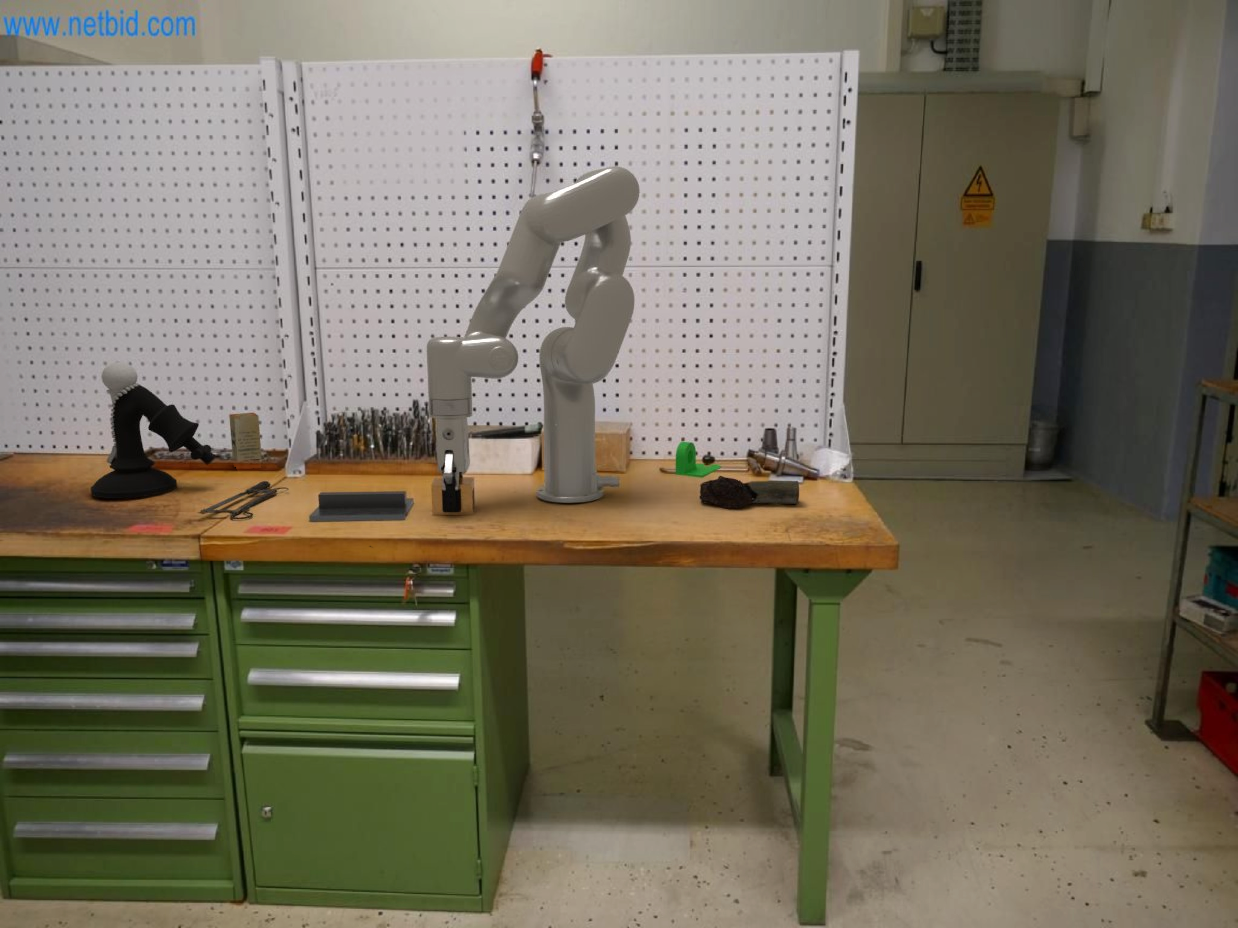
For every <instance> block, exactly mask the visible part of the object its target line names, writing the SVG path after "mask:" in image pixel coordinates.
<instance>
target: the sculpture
mask: <svg viewBox="0 0 1238 928" xmlns="http://www.w3.org/2000/svg"><path fill="white" fill-rule="evenodd" d="M101 382H102V384H103V385H104V386H105V387H106V388H107V390H106V392H107V393H108V394H109V396H110V399H111V405H110V406H111V410H110V412H111V413H110V416H111V417H109V418H110V425H111V426H110V430H111V432H110V433H111V438H112V439H113V440H112V442H113V446H112V448H111V452H110V453H109V455H108V457H107V458H106V463H107V464H110V465H109V468H110V469H111V470H112V471H109V472H108V473H106V474H104V475H103V476H101V477H100V478H98V479H97V480H96V481H95V482H94V484H93V485H91V487H90V494H91V495H92V496H94V497H96V498H101V499H133V498H141V497H150V496H156V495H158V494H159V495H160V494H164V493H167V492H170V491H173V490H175V489H176V488H177V487H178V482H177V481H178V480H177V479H176V478H175V477H174V476H172V475H171V474H169V473H168V472H166V471H164V470H161V469H160V468H159V469H158V468H156V467H153V466H154V465H155V464H156V463H155V461H153V460H152V459H150V458H149V457H148V456H147V455H146V452H145V449H144V446H143V440H142V434H141V420H142V418H143V416H144V417H145V418H146V420H147V421H148V422H149V424H148V430H149V431H150V432H152V433H154V434H156V435H158V436H160V437H161V438H162V439H163V440H164V441H165V443H166V445H167V448H168V451H169V453H174V452H177V450H179V449H181V448H183V447H184V448H185V449H187V450H188V451H189V452H190V458H191V459H192V460H196V461H197V460H201V461H202V462H203V463H204V464H205V465H206V466H208V465H210V464H211V463H212V462H213V461H214V460H215V459H216V457H217V455H216V454H215V453H213V452H212V447H211V446H210V444H204V445H203V444H202V443H201V442H199V441H198V440H197V439H195V437H194V436H195V434H196V432H197V430H198V428H199V425H200V424H199V422H193V421H190V420H189V419H187V418H185V417H183V415H181V413H180V412H179V410H178V409H177V407H176V405H175V404H169V405H167V404H166V403H165V402H164V401H163V400H161V399H160V398H159V397H158V396H157V395H156V394H155V393H153V392H152V391H150V390H149V389H148V388H146V387H144V386H143V385H141V384H140V383H137V382H138V373H137V371H136V369H135V368H134V367H133V366H132V365H131V364H128V363H126V362H122V361H117V362H113V363H109V364H108V365H106V367H105V368H104V369H103V370H102V372H101Z"/></svg>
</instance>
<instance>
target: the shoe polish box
mask: <svg viewBox="0 0 1238 928" xmlns="http://www.w3.org/2000/svg"><path fill="white" fill-rule="evenodd" d="M259 417H260V416H259V414H256V413H255V412H246V413H245V412H243V413H242V412H241V413H231V414H230V413H229V414H228V418H229V427H230V441H231V442H230V443H231V453H232V458H233V457H234V458H235V459H236V460H237V461H244V460H250V459H263V458H262V447H261V432H260V418H259Z"/></svg>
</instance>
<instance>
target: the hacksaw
mask: <svg viewBox="0 0 1238 928" xmlns="http://www.w3.org/2000/svg"><path fill="white" fill-rule="evenodd" d="M282 489H283V490H282ZM285 489H286V490H285ZM278 490H280V491H279V492H281V493H282V492H284V490H285V492H286V491H289V488H288V487H281V486H280V487H276V488H275V487H274V488H271V483H270V482H269V481H268V480H267V481H266V480H263V481H260V482H259V483H257V484H256V485H253V486H251V487H249V488H247V489H245V490H244V492H239V493H237V494H235V495H233V496H231V497H228V498H226V499H224V500H223V501H220V502H217V503H216V504H214V505H212V506H209V507H207V508H203V509H201V510H200V511H198V512H197V513H198V514H201V515H205V514H223V513H224V514H230V516H229V518H230V519H232V520H248V519H250V518H252V517H253V516H254V513H253V512H250V511H248V510H249V509H251V506H253V505H255V504H256V503H259V502H260V501H262V500H265V499H267V498H268V497H270V496H272V495H274V494H277V492H278ZM281 490H282V491H281ZM251 494H261V495H258V496H256V497H255V498H253V499H251V500H249V501H247V502H246V503H244V504H243V505H240V506H239V507H238V508H236V509H218V508H220V507H222V506H224V505H226V504H228V503H231V502H233V501H235V500H237V499H239V498H242V497H243V496H245V495H251ZM241 512H242V513H244V514H247V516H240V517H238V516H237V515H239V514H241ZM235 516H236V517H235Z"/></svg>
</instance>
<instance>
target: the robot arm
mask: <svg viewBox="0 0 1238 928" xmlns="http://www.w3.org/2000/svg"><path fill="white" fill-rule="evenodd" d="M640 191H641V190H640V185H639V182H638V179H637V177H636V176H635V175H634V173H632V172H631V171H630V170H628V169H627V168H624V167H622V166H608V167H604V168H600V169H594V170H591V171H587V172H585V173H583V174H582V175H580V176H579V177H578V178H577V179H576V180H575V183H573V184H571V185H568V186H566V187H563V188H561V189H558V190H554V191H549V192H545V193H540V194H537V195H535V196H532V197H531V198H529V199H528V200H527V201H526V202H525V203H524V205H523V207H522V208H521V211H520V213H519V216H518V218H517V221H516V224H515V226H514V229H513V231H512V234H511V236H510V239H509V241H508V245H507V246H506V249H505V252H504V254H503V257H502V258H501V262H500V265H499V267H498V269H497V271H496V273H495V274H494V277H493V278H492V280H491V282H490V283H489V285H488V287H487V289H486V291H485V292H484V294H483V295H482V297H481V298H480V300H479V302H478V304H477V306H476V307H475V309H474V312H473V314H472V316H471V319H470V321H469V323H468V326H467V330H466V332H465V334H464V336H463V337H461V336H437V337H436V336H435V337H432V338H430V339H428V341H427V343H426V363H427V391H428V392H427V395H428V416H429V418H432V419H435V435H436V437H435V438H436V443H435V444H436V459H437V460H436V461H437V470H438V473H440V474H441V475H442V478H443V490H442V509H443V512H460V511H461V489H459V477H464V474H466V473H467V472H468V470H469V467H470V465H471V459H470V458H471V454H470V440H469V439H470V438H469V424H468V418H470V417H473V397H472V396H473V395H472V391H473V390H472V389H473V388H472V387H473V386H472V378H482V379H492V380H493V379H494V380H498V379H502V378H503V379H504V378H506V377H508V376H509V375H510V374H512V373H513V372H514V371H515V369H516V368H517V366H518V363H519V353H518V350H517V348H516V347H515V345H514V343H513V342H511V341H510V339H508V338H507V337H508V334H509V332H510V329H511V328H512V325H513V323H514V322H515V320H516V318H517V317H518V315H519V314H520V312H522V311H523V309H524V308H526V307H527V306H528V305H529V304H530V303H532V302H533V301H534V300H535V299H536V298H537V297H538V296H539V295H540V293H541V292H542V291H543V289H544V287H545V285H546V281H547V279H548V278H549V274H550V273H551V269H552V266H553V264H554V261H555V259H556V256H557V253H558V251H559V248H560V246H561V243H565V242H569V241H572V240H575V239H578V238H580V237H583V236H584V242H583V246H582V248H581V252H580V256H579V259H578V261H577V263H576V266H575V269H574V271H573V274H572V276H571V279H570V281H569V284H568V287H567V290H566V292H565V297H564V306H565V309H566V311H567V313H568V315H569V316H570V317H571V318H572V319H574V320H575V322H574V325H573V327H572V326H562V327H559V328H556V329H553V330H552V331H549V333H548V334H547V335H546V336H545V337H544V339H543V340H542V343H541V346H540V348H539V354H538V357H539V368H540V376H541V380H542V381H541V382H542V391H543V392H542V393H543V434H544V435H543V441H544V442H543V443H544V444H543V446H544V447H543V448H544V449H543V450H544V451H543V452H544V454H543V455H544V457H543V459H544V485H543V486H540V487H539V488H537V490H536V496H537V498H538V499H540V500H541V501H546V502H552V503H561V504H562V503H563V504H565V503H566V504H577V503H586V502H591V501H595V500H598V499H601V498H603V496H604V489H603V488H604V487H605V488H606V487H609V488H620V484H621V483H620V479H621V478H620V476H613V475H600V474H598V471H597V469H596V397H595V389H594V384H596V383H599V382H601V381H602V380H603V379H605V378H606V377H607V376H608V375H609V373H610V372H611V370H612V369H613V367H614V365H615V363H616V360H617V357H618V355H619V353H620V349H621V348H622V345H623V342H624V339H625V336H626V334H627V331H628V329H629V326H630V324H631V320H632V318H633V314H634V310H635V293H634V290H633V287H632V285H631V283H630V282H629V280H627V278H626V277H625V276H623V275H624V272H625V270H626V266H627V265H626V264H627V263H628V259H629V256H630V253H631V245H632V244H631V243H632V236H631V230H630V229H631V228H630V225H629V222H628V220H627V215H628V214H629V213H630V212H632V211H633V209H635V207H636V205H637V204H638V202H639V199H640V193H641V192H640Z"/></svg>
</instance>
